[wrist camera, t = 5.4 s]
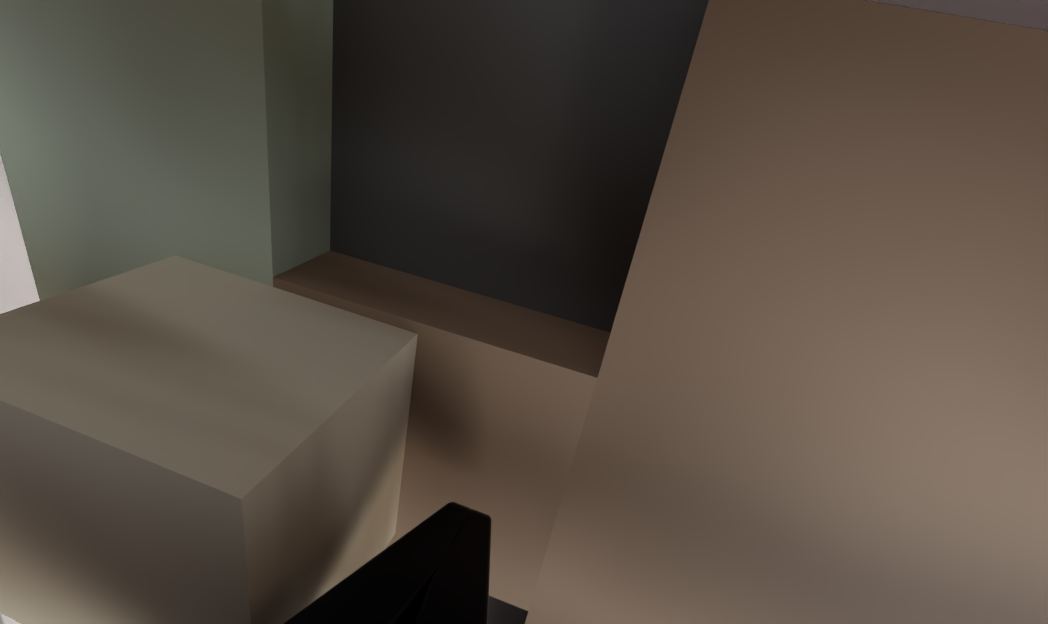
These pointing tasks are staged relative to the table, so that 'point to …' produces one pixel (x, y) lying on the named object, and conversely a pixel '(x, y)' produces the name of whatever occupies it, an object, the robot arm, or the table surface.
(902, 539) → the trap deck
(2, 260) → the table surface
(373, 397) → the birch block
